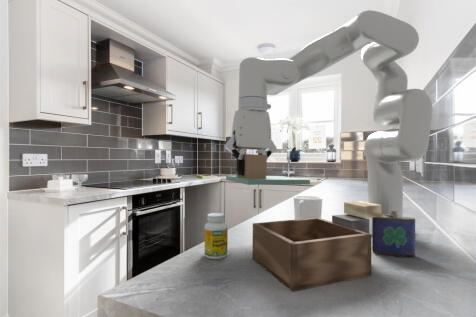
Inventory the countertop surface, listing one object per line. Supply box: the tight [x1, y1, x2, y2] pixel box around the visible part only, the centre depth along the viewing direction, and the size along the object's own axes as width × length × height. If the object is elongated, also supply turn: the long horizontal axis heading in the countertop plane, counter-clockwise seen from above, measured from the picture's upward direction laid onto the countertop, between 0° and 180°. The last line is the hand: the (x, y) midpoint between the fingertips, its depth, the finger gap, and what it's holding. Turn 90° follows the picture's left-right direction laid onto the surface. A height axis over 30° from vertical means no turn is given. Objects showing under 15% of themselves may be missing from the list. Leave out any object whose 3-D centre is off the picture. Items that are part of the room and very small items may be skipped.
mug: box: [293, 195, 323, 220], centre depth 86 cm, size 11×9×10 cm
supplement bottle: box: [204, 212, 229, 260], centre depth 63 cm, size 5×5×10 cm
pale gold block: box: [343, 200, 381, 219], centre depth 62 cm, size 5×6×3 cm
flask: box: [371, 210, 416, 258], centre depth 64 cm, size 9×3×11 cm, turn 74°
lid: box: [225, 153, 311, 186], centre depth 73 cm, size 17×15×7 cm
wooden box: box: [251, 213, 372, 292], centre depth 57 cm, size 23×16×10 cm
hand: (250, 174), depth 71 cm, fingers closed on lid, 5 cm apart
